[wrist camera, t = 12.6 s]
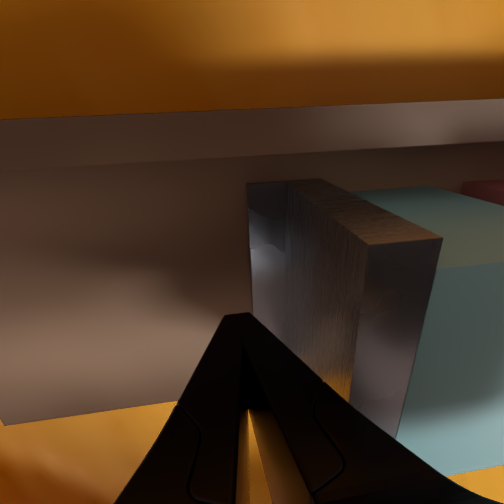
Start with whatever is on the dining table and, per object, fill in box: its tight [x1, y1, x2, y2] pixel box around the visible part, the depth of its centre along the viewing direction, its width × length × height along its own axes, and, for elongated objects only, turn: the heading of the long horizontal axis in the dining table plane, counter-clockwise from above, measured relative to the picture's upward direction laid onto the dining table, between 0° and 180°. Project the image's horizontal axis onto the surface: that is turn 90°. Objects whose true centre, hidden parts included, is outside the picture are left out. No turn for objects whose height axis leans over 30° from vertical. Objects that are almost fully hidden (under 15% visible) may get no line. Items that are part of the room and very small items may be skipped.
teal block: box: [350, 186, 504, 476], centre depth 9 cm, size 6×4×6 cm, turn 2°
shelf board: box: [0, 98, 504, 426], centre depth 9 cm, size 11×24×6 cm, turn 93°
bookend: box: [246, 178, 443, 439], centre depth 8 cm, size 7×2×5 cm, turn 2°
